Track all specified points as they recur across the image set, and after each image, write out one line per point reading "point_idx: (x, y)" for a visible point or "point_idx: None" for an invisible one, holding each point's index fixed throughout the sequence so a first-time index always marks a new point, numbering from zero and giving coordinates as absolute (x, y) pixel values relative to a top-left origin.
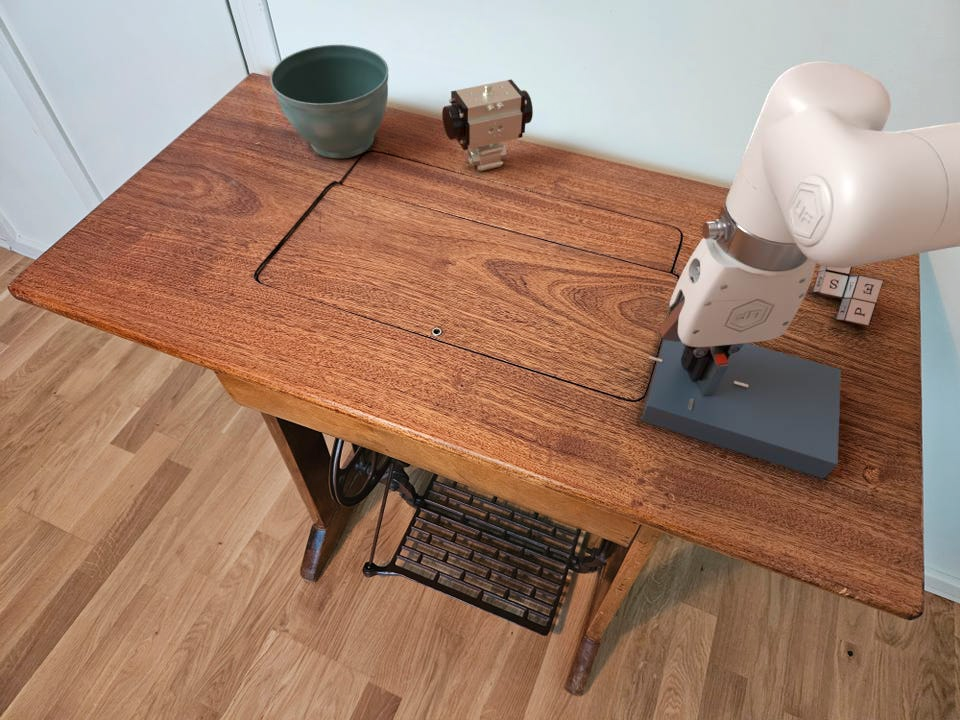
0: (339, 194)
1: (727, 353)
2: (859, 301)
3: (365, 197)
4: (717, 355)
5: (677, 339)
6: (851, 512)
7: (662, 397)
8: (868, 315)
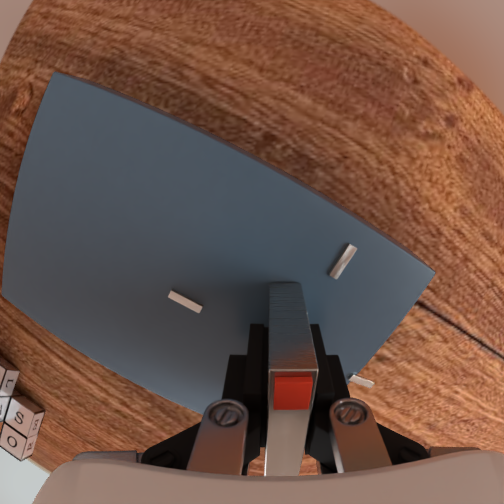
0: None
1: (243, 402)
2: None
3: None
4: (303, 406)
5: (436, 455)
6: (77, 25)
7: (396, 289)
8: None
